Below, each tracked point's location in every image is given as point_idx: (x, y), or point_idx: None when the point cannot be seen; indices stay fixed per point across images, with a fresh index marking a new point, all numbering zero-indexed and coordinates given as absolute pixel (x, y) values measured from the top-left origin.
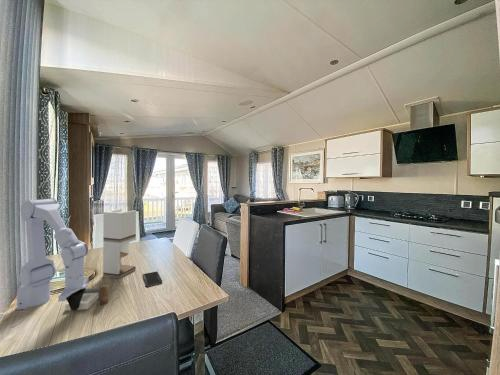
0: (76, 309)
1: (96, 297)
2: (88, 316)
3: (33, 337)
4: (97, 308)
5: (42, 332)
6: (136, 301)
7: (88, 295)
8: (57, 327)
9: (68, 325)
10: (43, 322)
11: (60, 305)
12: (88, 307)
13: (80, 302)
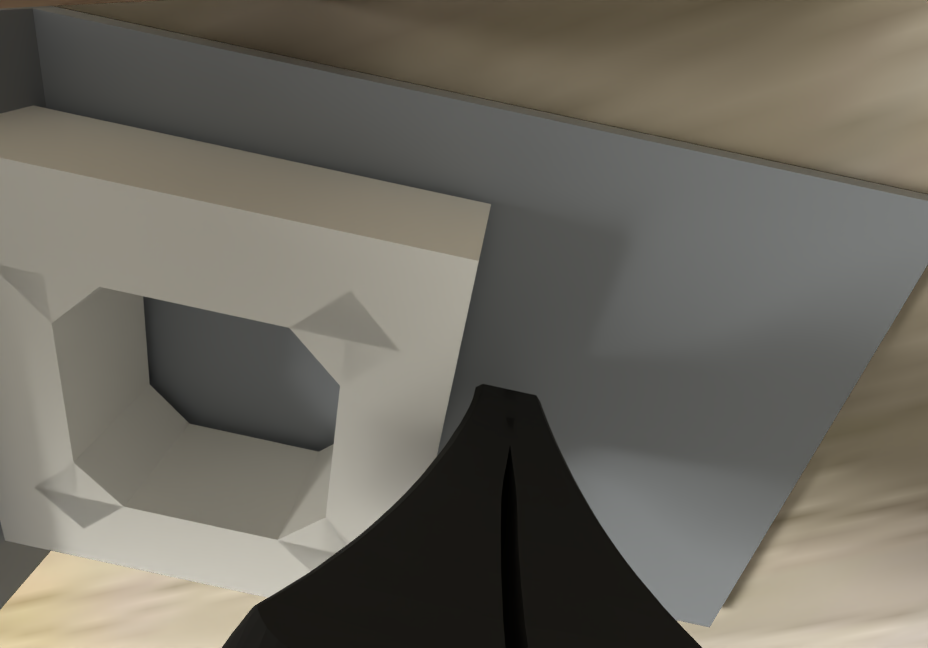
0: (540, 405)
1: (89, 143)
2: (719, 111)
3: (920, 644)
4: (427, 8)
5: (855, 599)
6: None
7: (64, 347)
8: (831, 487)
9: (870, 367)
10: None
11: (206, 591)
12: (460, 205)
13: (396, 422)
